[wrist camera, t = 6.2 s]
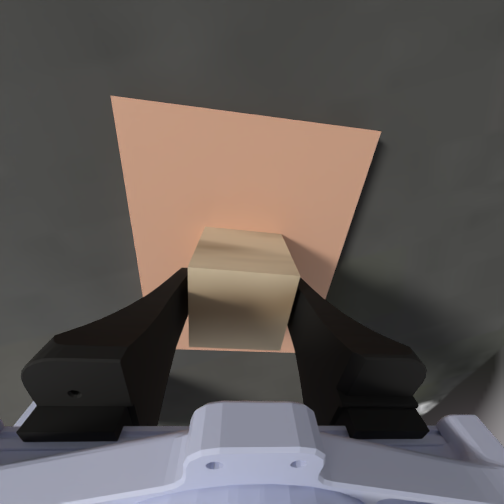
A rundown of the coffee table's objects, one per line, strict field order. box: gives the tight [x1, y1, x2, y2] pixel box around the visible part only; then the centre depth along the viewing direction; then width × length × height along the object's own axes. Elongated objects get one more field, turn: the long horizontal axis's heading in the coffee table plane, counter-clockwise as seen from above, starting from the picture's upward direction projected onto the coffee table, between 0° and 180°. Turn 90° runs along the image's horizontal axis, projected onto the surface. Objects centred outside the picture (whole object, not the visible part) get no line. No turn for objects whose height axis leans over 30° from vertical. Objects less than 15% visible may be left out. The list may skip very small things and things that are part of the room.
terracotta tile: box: [111, 96, 381, 353], centre depth 15 cm, size 18×14×1 cm
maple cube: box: [188, 227, 300, 351], centre depth 13 cm, size 5×5×5 cm
